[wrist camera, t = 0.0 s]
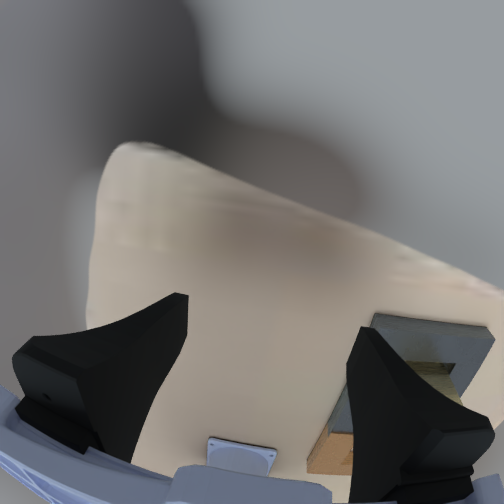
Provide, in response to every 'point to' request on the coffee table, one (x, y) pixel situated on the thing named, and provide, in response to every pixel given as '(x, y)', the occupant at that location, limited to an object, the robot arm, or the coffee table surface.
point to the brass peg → (436, 377)
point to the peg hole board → (408, 348)
